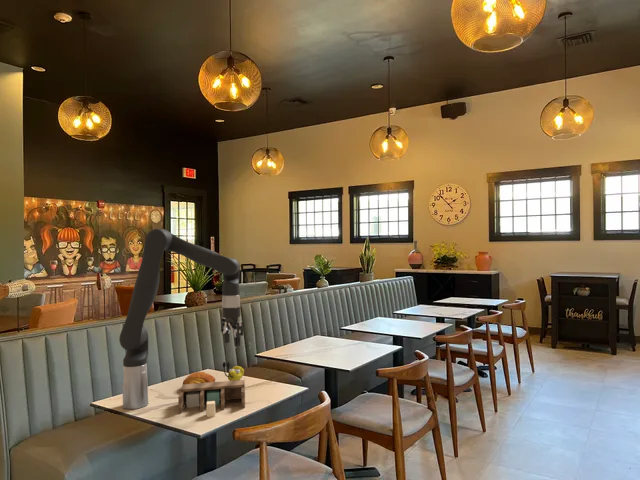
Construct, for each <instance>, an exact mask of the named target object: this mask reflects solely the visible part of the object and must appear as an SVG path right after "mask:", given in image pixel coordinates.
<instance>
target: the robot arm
mask: <svg viewBox="0 0 640 480" xmlns="http://www.w3.org/2000/svg"><path fill="white" fill-rule="evenodd" d="M165 251H167V252H172V253H175V254H177V255H181V256H183V257H185V258H186V259H189V260H190V261H192V262H194V263H196V264H199V265H201V266H203V267H204V266H205V267H207V268H209V269H212V270H214V271H216V272H219V273H221V274H223V283H222V298H221V299H222V300H221V305H222V306H221V308H222V309H221V310H222V317H221V318H220V332H221V333H222V335H223V342H224V344H229V343H230V333H233V336H234V346H235V347H240V346H241V337H242V336H244V323H243V321H242V320H240V321H239V318H240V317H241V316H242V315H241V314H242V313H241V296H240V274H241V267H240V266H241V265H240V262H239V260H238V259H236V258H234V257H227V256H224V255H221V254H219V253H218V252H216V251H215V250H214V251H213V250H211V249H209V248H206V247H203V246H201V245H198V244H195V243H193V242H189V241H187V240H184V239H183V238H180V237H179V236H176V235H175V234H173V233H172V232H170V231H168V230H167V229H165V228H154V229H151V230H150V231H148V232H147V234H146V236H145V241H144V248H143V255H142V260H141V263H140V266H139V269H138V272H137V273H138V274H137V276H136V279H135V283H134V285H133V291H132V296H131V300H130V304H129V306H128V311H127V315H126V318H125V321H124V324H123V326H122V329H121V331H120V335H119V344H120V346H121V348H122V349H124V350H125V351H126V353H125V355H124V357H123V360H122V368H123V384H122V387H121V389H122V408H123V409H127V410H135V409H140V408H144V407H146V406H148V404H149V387H148V357H149V333H148V330H147V329H146V327H145V326H144V323H145V320H146V317H147V315H148V313H149V312H150V309H151V307H152V306H153V304H154V303H155V300H156V297H157V293H158V290H159V286H160V267H161V266H160V265H161V261H162V258H163V254H164V252H165Z"/></svg>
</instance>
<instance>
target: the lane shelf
mask: <svg viewBox="0 0 640 480" xmlns="http://www.w3.org/2000/svg"><path fill="white" fill-rule="evenodd" d="M245 382H246V381H245V379H240V380H236V381H229V380H226V381H225V380H223V381H215V382H209V383H196V384H183V383H182V386H181V387H180V392H179V394H178V396H177V398H178V402H177V403H178V414H183V411H184V409H185V407H186V405H187V401H186V395H187V393H188V392H189V391H200V406H199V412H200V413H201V412H204V410H205V407H206V404H207V391H208V390H212V389H220V409H221V411H224V410H225V408H226V407H225V406H226V401H227V400H228V401H229V400H238V399H241V409H245V408H246V383H245Z"/></svg>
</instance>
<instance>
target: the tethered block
mask: <svg viewBox="0 0 640 480" xmlns="http://www.w3.org/2000/svg"><path fill="white" fill-rule="evenodd" d="M216 406H221V400H220V389H212V390H208V391H207V401H206V417H207V418H212V417H213V418H214V417H216Z"/></svg>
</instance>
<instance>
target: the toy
mask: <svg viewBox="0 0 640 480" xmlns="http://www.w3.org/2000/svg"><path fill="white" fill-rule="evenodd" d="M230 366H231V364H230V362H229V361H227V363H226V361H223V362H222V367H223V372H224V375H225V377H227V379H228V381H236V380H242V378H243V376H244V373H245V369H244V368H243V367H242V366H239V365H236V366H233V367H232V368H230ZM225 368H227V373H228V374H227V373H226V371H225V370H226V369H225Z"/></svg>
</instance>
